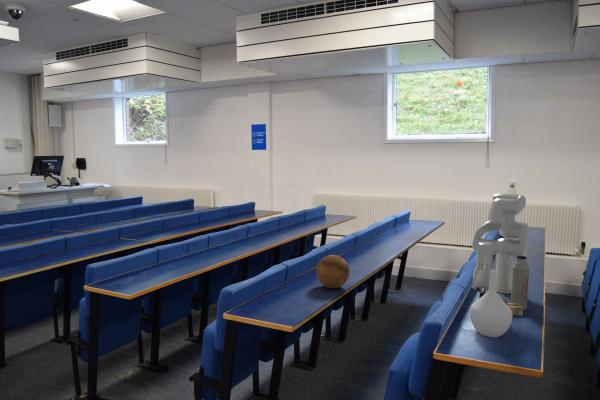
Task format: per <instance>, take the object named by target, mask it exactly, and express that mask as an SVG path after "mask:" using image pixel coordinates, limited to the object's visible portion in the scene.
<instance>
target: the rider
mask: <svg viewBox="0 0 600 400" xmlns="http://www.w3.org/2000/svg"><path fill="white" fill-rule="evenodd" d="M500 298H501V299H502V300H503V301H504V303H505V304H506V305H507V303H509V302H508V298H507V297H505V296H500Z"/></svg>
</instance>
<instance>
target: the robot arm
mask: <svg viewBox="0 0 600 400" xmlns="http://www.w3.org/2000/svg"><path fill="white" fill-rule="evenodd" d="M526 204H527V198H526V197H525V196H524V195H523V194H514V193H494V194H493V195H492V202H491V206H490V210H489V213H488V217H487V220H486V222H485V223H483V224H481V225H480V226H479V227H478V228H477V229H476V231H475V233H474V236H473V239H472V245H471V246H472V247H471V248H472V250H473V252H475V253H476V266H475V267H474V269H473V273H472V274H473V275H472V286H471V287H472V289H473V290H475V291H477V292H479V293H478V294H479V296H478V297H479V299H480V298H481V297H482V296H483V295H484V294H486V293H487V291H488V289H489V278H490V270H494V269H493V268H495V271H496V292H497V293H500V294H511V290H512V273H513V266H514V265H515V264H514V263H515V261H514V259H513V256H514V257H517V256H525V257H527V255H528V252H529V243H530V241H529V240H530V237H529V236H530V228H529V225H528V223H526V222H523V221H516V216H518V215H519V214H520V213H521V212H522V211H523V210H524V209H525V208H526ZM496 230H498V233H499V235H500V236H502V238H498V239H497V240H496V239H495V240H494V239H487V238H483V236H484V235H485V234H487V233H489V232H492V231H493V232H494V231H496ZM504 237H505V238H504ZM506 237H507V238H506ZM513 238H514V239H513ZM493 256H496V264H494V263H493Z"/></svg>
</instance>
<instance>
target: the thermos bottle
mask: <svg viewBox="0 0 600 400" xmlns="http://www.w3.org/2000/svg"><path fill="white" fill-rule="evenodd" d="M527 258H528V257H527V256H516V260H515V261H514V266H513V273H512V290H511V293H510V294H511V295H510V303H516V304H520V305H521V306H522V307H523V310H527V308H528V294H529V293H528V292H529V281H530V280H529V278H530V267H529V262H528V261H527Z"/></svg>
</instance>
